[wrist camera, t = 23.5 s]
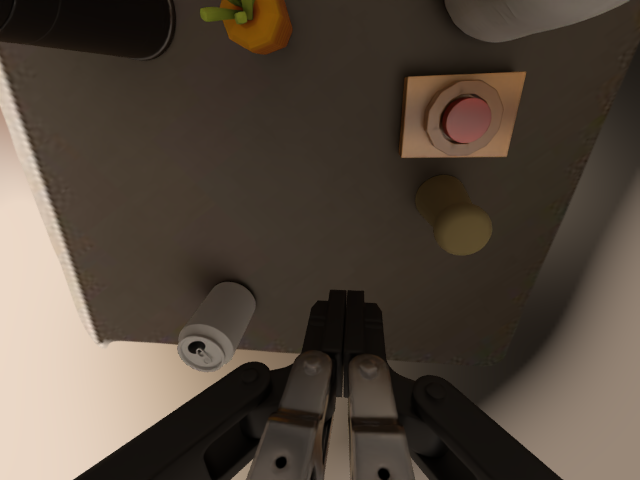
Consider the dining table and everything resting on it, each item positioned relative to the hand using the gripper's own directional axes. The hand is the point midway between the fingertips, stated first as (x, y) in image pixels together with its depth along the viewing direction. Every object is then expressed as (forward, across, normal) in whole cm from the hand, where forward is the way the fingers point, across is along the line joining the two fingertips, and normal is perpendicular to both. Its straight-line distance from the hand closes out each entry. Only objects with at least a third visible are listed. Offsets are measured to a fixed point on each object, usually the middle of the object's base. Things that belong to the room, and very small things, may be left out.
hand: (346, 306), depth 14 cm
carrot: (+27, +8, -14) cm, 32 cm away
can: (+27, +19, +21) cm, 39 cm away
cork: (+27, -10, +4) cm, 29 cm away
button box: (+27, -10, -6) cm, 29 cm away
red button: (+23, -11, -6) cm, 26 cm away
